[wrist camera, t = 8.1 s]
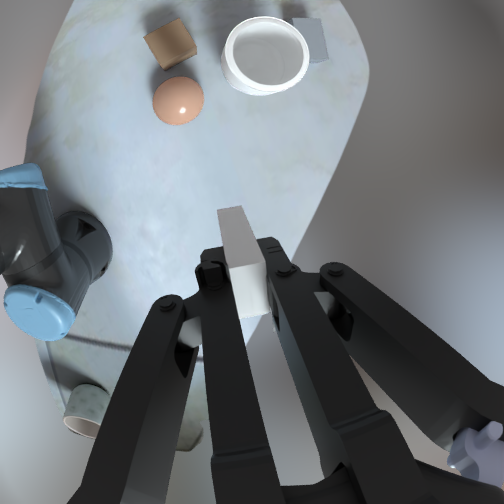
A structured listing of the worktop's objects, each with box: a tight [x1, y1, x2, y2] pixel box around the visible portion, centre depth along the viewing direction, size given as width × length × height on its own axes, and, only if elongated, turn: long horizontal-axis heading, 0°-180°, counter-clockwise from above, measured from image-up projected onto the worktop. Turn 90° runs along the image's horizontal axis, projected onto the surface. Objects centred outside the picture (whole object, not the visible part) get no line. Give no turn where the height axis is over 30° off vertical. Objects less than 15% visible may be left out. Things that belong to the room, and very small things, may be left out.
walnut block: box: [143, 18, 197, 71], centre depth 32 cm, size 6×6×6 cm
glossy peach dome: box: [153, 77, 204, 125], centre depth 38 cm, size 8×8×4 cm
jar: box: [221, 17, 310, 95], centre depth 32 cm, size 11×10×15 cm
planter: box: [63, 384, 111, 439], centre depth 64 cm, size 17×17×15 cm
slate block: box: [287, 18, 329, 63], centre depth 35 cm, size 5×8×5 cm, turn 9°
